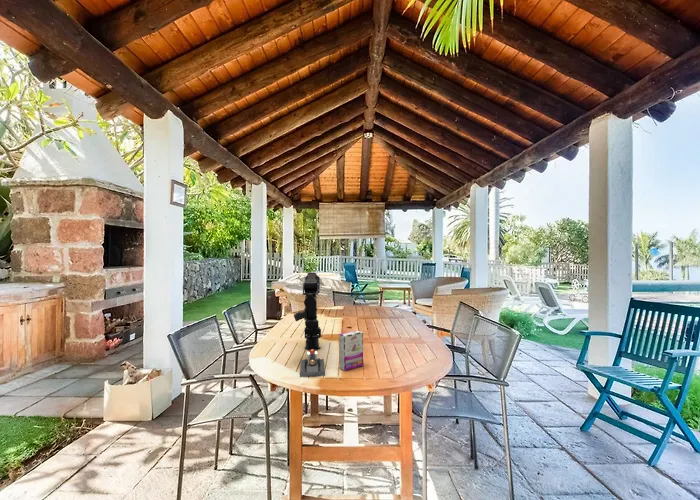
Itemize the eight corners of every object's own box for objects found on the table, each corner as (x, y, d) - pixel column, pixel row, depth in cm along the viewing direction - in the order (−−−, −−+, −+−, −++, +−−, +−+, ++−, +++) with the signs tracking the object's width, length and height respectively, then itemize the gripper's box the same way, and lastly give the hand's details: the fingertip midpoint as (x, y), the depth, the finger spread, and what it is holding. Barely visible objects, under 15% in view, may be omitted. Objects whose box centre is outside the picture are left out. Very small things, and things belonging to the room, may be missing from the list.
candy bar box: (357, 363, 166) (357, 329, 166) (363, 366, 162) (363, 332, 162) (338, 368, 160) (338, 333, 160) (344, 371, 156) (344, 335, 156)
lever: (308, 361, 158) (307, 347, 153) (316, 361, 158) (316, 347, 154) (308, 365, 156) (307, 352, 151) (316, 365, 156) (316, 352, 151)
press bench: (301, 363, 166) (301, 349, 166) (323, 362, 167) (323, 348, 167) (299, 377, 149) (299, 361, 149) (324, 376, 151) (324, 360, 150)
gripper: (294, 303, 178) (294, 333, 178) (294, 308, 160) (294, 342, 159) (315, 303, 180) (316, 332, 179) (318, 308, 161) (318, 341, 161)
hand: (311, 337), depth 170 cm, fingers closed
